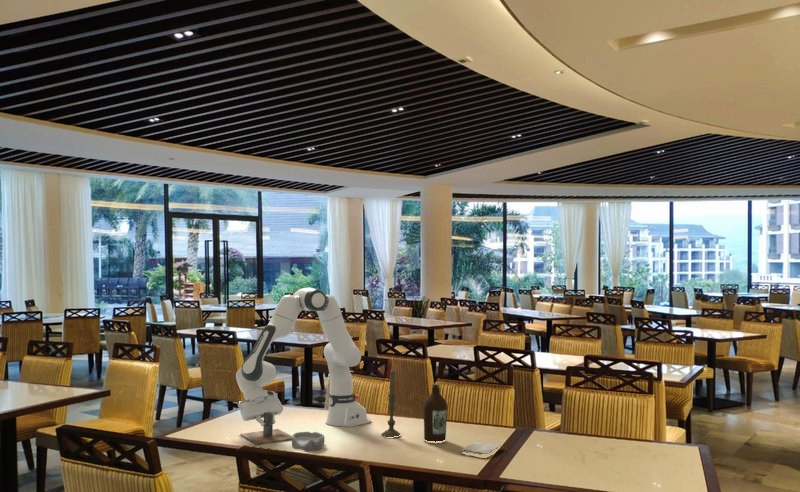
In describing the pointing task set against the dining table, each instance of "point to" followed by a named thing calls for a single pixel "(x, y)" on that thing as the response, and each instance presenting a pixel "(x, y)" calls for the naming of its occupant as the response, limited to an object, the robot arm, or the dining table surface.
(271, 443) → the mat
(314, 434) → the dish
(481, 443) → the washcloth
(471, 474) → the dining table surface
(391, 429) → the candlestick holder
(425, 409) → the olive oil
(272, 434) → the lid
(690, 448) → the dining table surface
